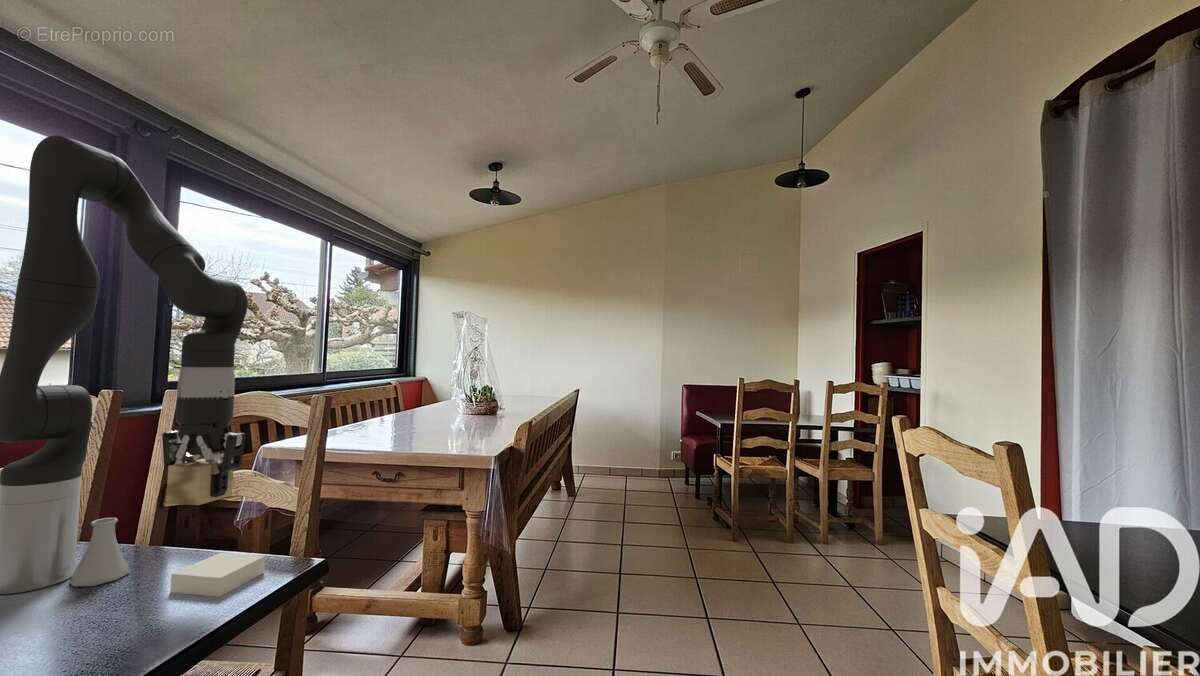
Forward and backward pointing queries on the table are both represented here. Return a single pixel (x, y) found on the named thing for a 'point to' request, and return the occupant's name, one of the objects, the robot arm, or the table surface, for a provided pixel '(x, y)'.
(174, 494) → the oak block
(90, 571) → the flask
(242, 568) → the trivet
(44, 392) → the robot arm
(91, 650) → the table surface
